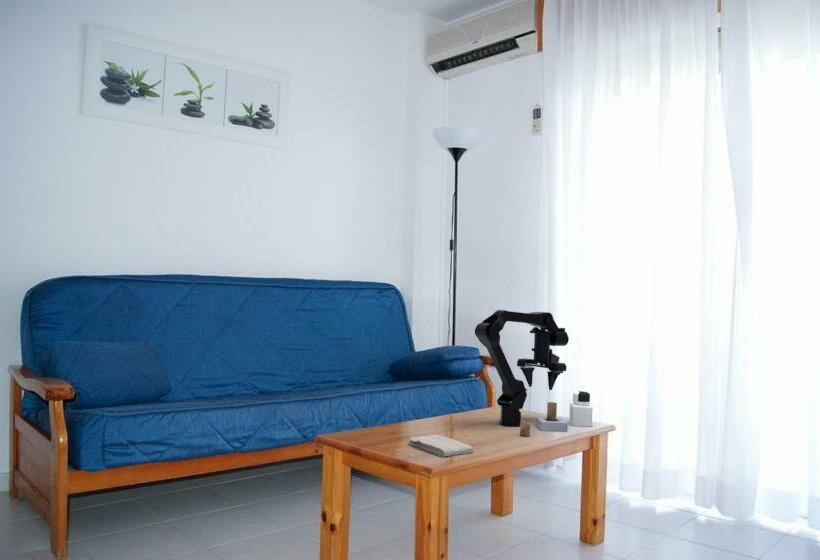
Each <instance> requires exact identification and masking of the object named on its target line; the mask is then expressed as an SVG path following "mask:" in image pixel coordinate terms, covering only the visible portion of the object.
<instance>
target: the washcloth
mask: <svg viewBox="0 0 820 560" xmlns="http://www.w3.org/2000/svg"><path fill="white" fill-rule="evenodd" d="M408 444H409V445H410V446H411V447H413V448H415V447H416V449H418V448H419V449H418V450H421V449H422V450H421V451H424V452H426V451H427V452H426V453H429V452H430V454H432V453H434V454H433V455H435V456H438V457H440V456H441V458H446V456H448V457H453V456H458V454H462V455H465V454H466V455H467V453H468V454H472V453H473V452H474V448H473V446H472V445H469V444H467V443H463V442H462V441H459V440H456V439H452V438H449V437H447V436H443V435H440V434H432V435H427V436H425V435H424V436H423V435H419V436H414V437H413V436H412V437H410V438H409V441H408ZM452 455H453V456H452Z"/></svg>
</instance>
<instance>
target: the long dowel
mask: <svg viewBox="0 0 820 560" xmlns="http://www.w3.org/2000/svg"><path fill="white" fill-rule="evenodd" d="M546 404H547V409H546V417H547V421H556V418H557V413H558V410H557V406H558V403H557V402H552V401H548V402H547V403H546Z"/></svg>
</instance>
